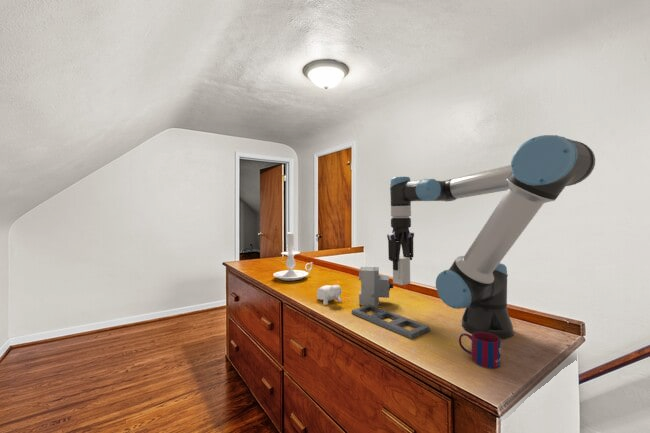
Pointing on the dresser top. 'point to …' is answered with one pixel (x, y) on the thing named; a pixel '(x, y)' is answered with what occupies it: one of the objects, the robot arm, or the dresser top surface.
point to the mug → (484, 349)
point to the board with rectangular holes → (393, 325)
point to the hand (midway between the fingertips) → (401, 277)
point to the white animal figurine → (329, 293)
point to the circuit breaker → (373, 286)
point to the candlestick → (291, 263)
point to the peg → (403, 271)
